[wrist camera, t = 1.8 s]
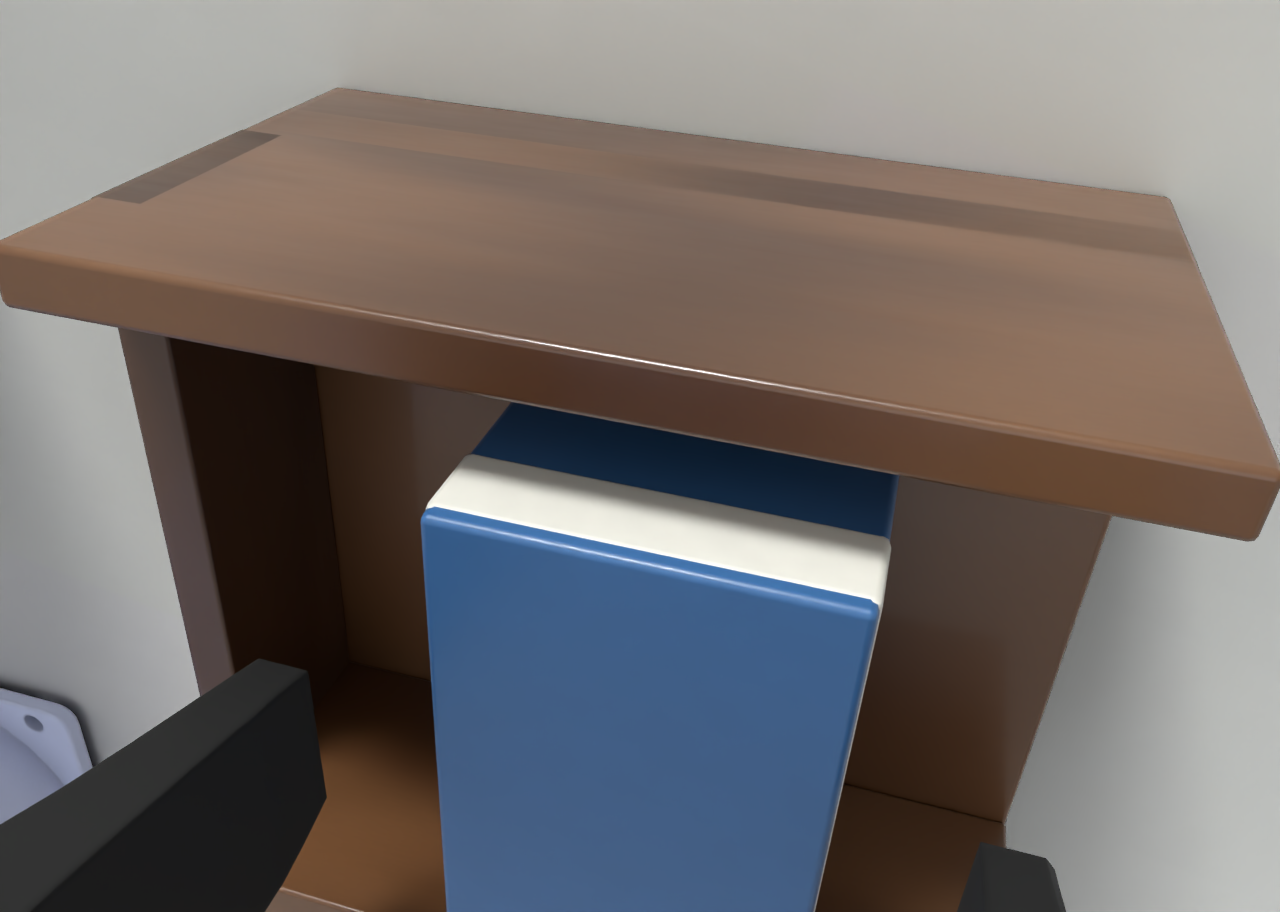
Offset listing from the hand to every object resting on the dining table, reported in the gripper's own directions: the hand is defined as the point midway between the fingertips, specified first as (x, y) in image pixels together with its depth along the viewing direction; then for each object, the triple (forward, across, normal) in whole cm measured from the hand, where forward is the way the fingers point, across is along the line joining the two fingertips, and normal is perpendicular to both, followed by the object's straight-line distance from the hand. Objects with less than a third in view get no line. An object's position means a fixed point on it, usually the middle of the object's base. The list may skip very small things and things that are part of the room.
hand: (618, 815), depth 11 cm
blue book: (+5, 0, 0) cm, 5 cm away
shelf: (+8, +1, +5) cm, 9 cm away
